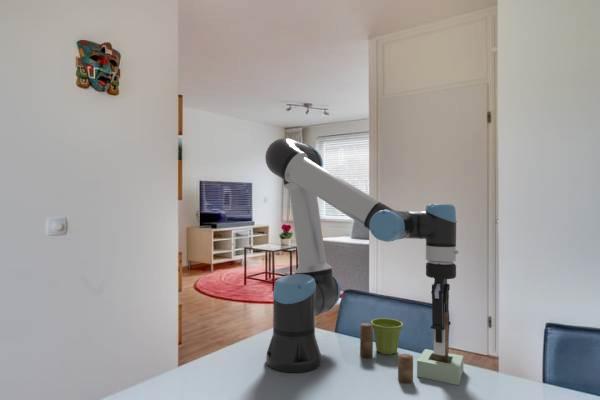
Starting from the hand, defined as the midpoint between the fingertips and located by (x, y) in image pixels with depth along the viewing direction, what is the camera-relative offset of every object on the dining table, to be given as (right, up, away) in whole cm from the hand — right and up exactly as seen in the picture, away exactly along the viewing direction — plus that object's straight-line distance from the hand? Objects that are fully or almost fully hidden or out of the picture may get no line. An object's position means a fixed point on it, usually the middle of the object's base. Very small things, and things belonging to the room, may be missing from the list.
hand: (440, 351), depth 101 cm
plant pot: (-11, -6, +16) cm, 20 cm away
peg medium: (-18, -6, +12) cm, 22 cm away
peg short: (-11, -5, -5) cm, 13 cm away
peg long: (0, -4, 0) cm, 4 cm away
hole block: (0, -6, 0) cm, 6 cm away
